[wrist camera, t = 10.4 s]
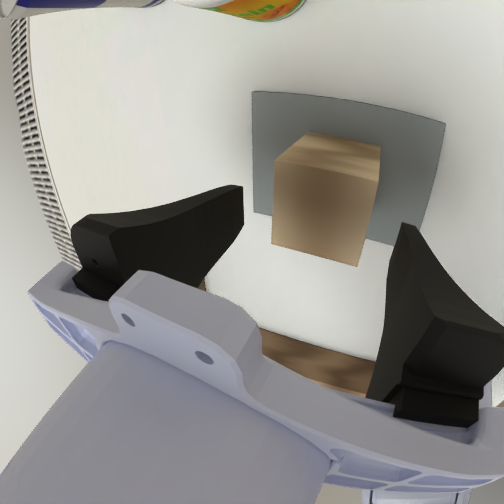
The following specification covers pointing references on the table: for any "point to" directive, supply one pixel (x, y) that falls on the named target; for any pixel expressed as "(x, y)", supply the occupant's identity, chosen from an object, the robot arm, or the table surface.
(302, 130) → the slate mat
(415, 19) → the table surface
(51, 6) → the energy drink
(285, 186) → the oak block
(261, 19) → the supplement bottle
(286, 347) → the wooden u-shaped frame
